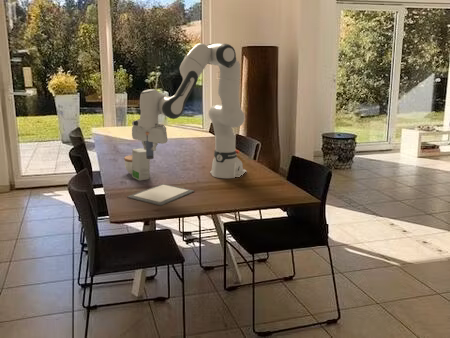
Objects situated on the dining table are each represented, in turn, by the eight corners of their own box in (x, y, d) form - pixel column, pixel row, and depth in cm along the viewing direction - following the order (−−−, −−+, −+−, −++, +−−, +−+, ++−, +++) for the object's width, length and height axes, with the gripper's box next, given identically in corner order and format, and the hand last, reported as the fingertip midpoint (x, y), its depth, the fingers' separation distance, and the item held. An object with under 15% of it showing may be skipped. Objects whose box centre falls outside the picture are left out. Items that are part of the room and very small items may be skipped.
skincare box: (131, 177, 253) (131, 149, 249) (142, 175, 257) (142, 147, 253) (139, 180, 246) (139, 152, 242) (150, 178, 251) (150, 150, 247)
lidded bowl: (142, 177, 254) (142, 157, 251) (120, 175, 256) (120, 155, 253) (150, 171, 266) (150, 152, 263) (130, 169, 268) (129, 150, 265)
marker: (149, 157, 237) (148, 130, 234) (155, 158, 235) (154, 131, 232) (144, 158, 234) (143, 131, 231) (150, 159, 232) (149, 132, 229)
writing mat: (162, 184, 241) (162, 183, 240) (194, 191, 231) (194, 190, 230) (127, 197, 219) (127, 195, 219) (160, 205, 209) (160, 203, 209)
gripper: (169, 124, 228) (170, 151, 231) (138, 120, 238) (138, 146, 241) (161, 125, 222) (162, 154, 226) (129, 121, 233) (130, 148, 236)
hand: (149, 150), depth 234 cm, fingers closed on marker, 4 cm apart
